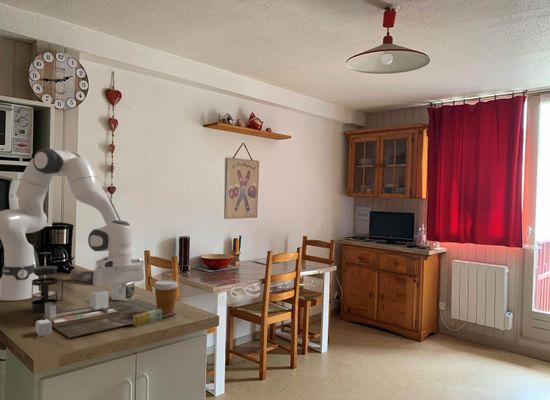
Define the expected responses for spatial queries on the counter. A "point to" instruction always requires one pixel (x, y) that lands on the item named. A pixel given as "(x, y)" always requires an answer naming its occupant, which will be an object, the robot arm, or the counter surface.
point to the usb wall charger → (43, 327)
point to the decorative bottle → (82, 275)
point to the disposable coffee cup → (165, 295)
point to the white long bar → (51, 313)
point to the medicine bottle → (127, 292)
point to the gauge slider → (99, 300)
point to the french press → (44, 287)
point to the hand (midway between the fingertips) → (119, 294)
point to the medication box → (147, 317)
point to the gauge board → (82, 317)
